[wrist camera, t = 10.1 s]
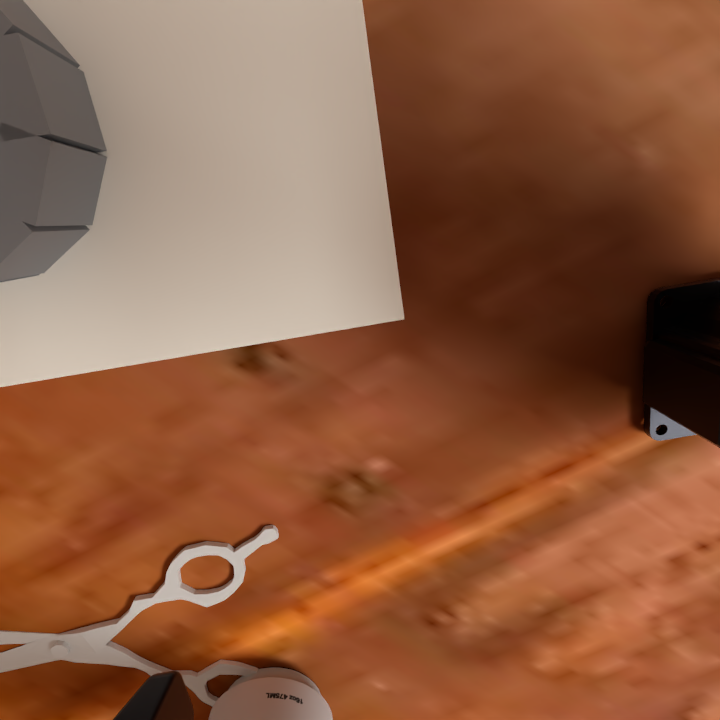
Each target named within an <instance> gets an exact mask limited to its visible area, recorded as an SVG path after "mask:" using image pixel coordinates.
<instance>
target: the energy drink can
mask: <svg viewBox="0 0 720 720" xmlns="http://www.w3.org/2000/svg"><path fill="white" fill-rule="evenodd" d="M208 720H333V718H332V712H331V710H330V707H329V705H328V703H327V702H326V701H325V699H324V698H323V697H322V696H321V693H320V691H319V689H318V687H317V686H316V685H315V684H314V682H313V681H311V680H310V679H309V678H308V677H306V676H305V675H303V674H301V673H299V672H297V671H294V670H291V669H286V668H277V667H270V668H262V669H258V671H257V672H256V673H253V674H250V675H248V676H246V677H245V676H242V677H240V678H239V679H237V680H236V681H235V682H234V683H233V684H232V685H231V686H230V688H229V690H228V691H226V692H225V693H224V694H223V695H222V696H221V697H220V698H219V699H218V700H217V701H216V702H215V704H214V706H213V707H212V709H211V712H210V716H209V719H208Z"/></svg>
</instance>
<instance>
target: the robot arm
mask: <svg viewBox="0 0 720 720" xmlns="http://www.w3.org/2000/svg"><path fill="white" fill-rule="evenodd" d="M664 296H665V297H666V301H665V303H664V304H663V305H662V306H661V305H660V302H661V299H662V298H663V297H664ZM643 402H644V403H645V405H644V431H645V433H646V434H647V435H648V436H650V437H651V438H653V439H655V440H660V441H661V440H667V439H673V438H679V437H685V436H691V435H699V436H700V437H702V438H704V439H706V440H707V441H709V442H711V443H712V444H714V445H716V446H717V447H719V448H720V278H715V279H709V280H703V281H697V282H691V283H685V284H679V285H673V286H668V287H662V288H658V289H655V290H654V291H653V292H652V293H651V294H650V296H649V297H648V301H647V330H646V345H645V347H644V379H643ZM659 425H661V427H660V429H659V430H657V431H656V428H657V427H658V426H659ZM113 720H194V712H193V706H192V703H191V700H190V697H189V694H188V692H187V689H186V686H185V683H184V680H183V678H182V675H181V673H179V672H178V671H175V670H174V671H168V672H162V673H156V674H154V675H152V676H151V677H149V678H148V679H147V680H146V681H145V683H144V684H143V685H142V686H141V687H140V688H139V690H138V691H137V692H136V693H135V694H134V695H133V697H132V698H131V699H130V700H129V701H128V702H127V704H126V705H125V706H124V707H123V708H122V710H121V711H120V712H119V713H118V714H117V715H116V717H115V718H114V719H113Z"/></svg>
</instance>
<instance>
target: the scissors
mask: <svg viewBox="0 0 720 720" xmlns="http://www.w3.org/2000/svg"><path fill="white" fill-rule="evenodd" d="M278 537H279V533H278V529H277V528H276V527H275V526H274V525H268V526H265V527H264V528H263V529H262V530H261V532H260V533H258V534H257V535H256V536H255V537H253V538H251V539H249V540H247V541H246V542H244V543H242V544H241V545H240V546H238V547H237V548H234V547H232V546H231V545H230V544H228V543H220V542H211V541H205V542H201V543H197V544H193V545H188V546H186V547H185V548H184V549H182V550H181V551H180V552H179V553H178V554H177V555H176V556H175V557H174V559H173V560H172V562H171V564H170V566H169V568H168V570H167V572H166V578H165V582H164V583H163V584H162V585H161V586H160V587H159V588H158V590H157V591H156V592H155V593H150V594H144V595H138V596H136V597H135V599H134V601H133V603H132V606H131V608H130V609H129V610H128V611H127V612H126V613H125V614H123V615H122V616H121V617H120V618H118V619H113V620H109V621H105V622H101V623H97V624H93V625H89V626H86V627H82V628H78V629H74V630H71V631H67V632H63V633H60V634H54V633H37V632H19V631H2V630H0V644H25V645H23V646H20V647H17V648H14V649H11V650H8V651H5V652H2V653H0V673H2V672H6V671H11V670H15V669H20V668H24V667H29V666H33V665H38V664H42V663H47V662H52V661H57V660H66V661H70V662H75V663H92V664H107V665H115V666H122V667H133V668H137V669H139V670H142V671H144V672H146V673H148V674H149V675H150V676H152V675H154V674H156V673H162V672H168V671H174V670H171V669H168V668H165V667H163V666H160V665H158V664H155V663H153V662H151V661H148V660H146V659H144V658H142V657H140V656H138V655H136V654H135V653H133V652H132V651H130V650H129V649H127V648H125V647H123V646H121V645H118V644H116V643H114V642H112V641H110V640H111V639H112V638H113V637H115V636H116V635H117V634H118V633H119V632H120V631H121V630H122V629H123V628H124V627H125V626H126V625H127V624H128V623H129V622H130V621H131V620H132V619H133V618H134V617H135V616H136V615H138V614H139V613H140V612H141V611H142V610H144V609H146V608H148V607H150V606H152V605H153V604H155V603H160V602H166V601H172V600H179V599H182V600H187V601H191V602H193V603H196V604H199V605H202V606H205V607H209V606H211V605H214V604H217V603H219V602H221V601H224V600H225V599H227V598H228V597H229V596H230V595H231V594H233V593H234V592H235V591H236V590H237V588H238V587H239V586H240V585H241V583H242V582H243V578H244V574H245V570H246V567H245V561H244V559H245V558H246V557H247V556H249V555H250V554H251V553H252V552H254V551H255V550H256V549H257V548H259V547H260V546H261V545H264V544H268V543H270V542H272V541H274V540H276V539H278ZM205 555H219V556H221V557H223V558H225V559H227V560H228V561H229V562H230V563H231V564H232V565H233V566H234V577H233V579H232V580H230V581H229V582H228V583H227V584H226V585H223V586H221V587H218V588H214V589H209V590H196V589H194V588H192V587H190V586H188V585H186V584H184V583H182V581H181V574H180V568H181V567H182V566H183V565H184V564H185V563H186V562H187V561H189V560H190V559H192V558H195V557H199V556H205ZM175 671H178V672H179V673H181V675H182V678H183V680H184V683H185V685H186V686H187V687H188V688H189V689H191V690H192V691H193V692H194V693H195V694H196V695H197V697H198V698H199V699H200V700H201V701H203V702H204V703H206V704H208V705H210V706H212V707H213V706H214V704H215V702H216V701H217V700H218V699H219V698H218V697H216V696H214V695H212V694H211V693H210V692H209V691H208V688H207V685H206V683H207V681H208V680H210V679H212V678H214V677H216V676H218V675H242V676H245V677H246V676H248V675H250V674H253V673H256V672H257V671H258V668H257V667H254V666H251V665H248V664H245V663H242V662H238V661H230V660H222V659H220V660H219V661H217V662H215V663H213V664H212V665H210V666H208V667H206V668H205V669H203V670H201V671H199V672H198V673H197V672H195V671H192V670H175Z"/></svg>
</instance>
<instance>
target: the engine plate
mask: <svg viewBox="0 0 720 720" xmlns="http://www.w3.org/2000/svg"><path fill="white" fill-rule="evenodd" d="M403 319H404V312H403V305H402V297H401V290H400V282H399V274H398V267H397V259H396V252H395V244H394V237H393V229H392V222H391V214H390V207H389V199H388V192H387V184H386V176H385V169H384V161H383V154H382V146H381V139H380V131H379V124H378V116H377V109H376V101H375V94H374V86H373V79H372V71H371V63H370V56H369V48H368V41H367V33H366V26H365V18H364V11H363V3H362V0H0V387H4V386H10V385H16V384H22V383H28V382H34V381H40V380H46V379H52V378H58V377H64V376H70V375H76V374H82V373H88V372H94V371H100V370H106V369H112V368H118V367H123V366H129V365H135V364H141V363H147V362H153V361H159V360H165V359H171V358H177V357H183V356H189V355H195V354H201V353H207V352H213V351H219V350H225V349H231V348H237V347H243V346H248V345H254V344H260V343H266V342H272V341H278V340H284V339H290V338H296V337H302V336H308V335H314V334H320V333H326V332H332V331H338V330H344V329H350V328H356V327H362V326H368V325H374V324H379V323H385V322H391V321H397V320H403Z"/></svg>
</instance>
